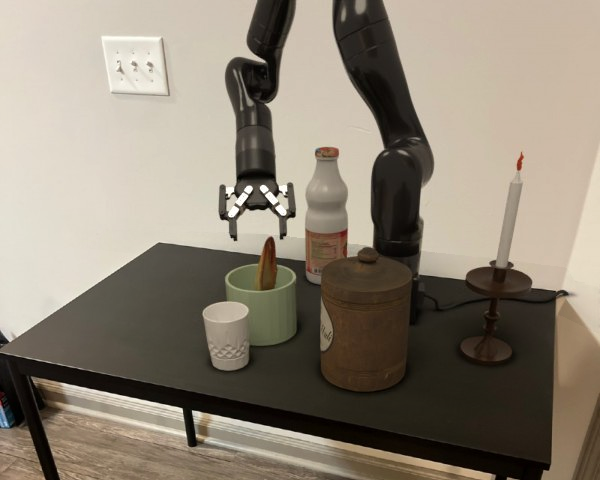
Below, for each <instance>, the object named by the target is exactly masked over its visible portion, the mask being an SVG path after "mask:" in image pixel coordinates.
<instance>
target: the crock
mask: <svg viewBox="0 0 600 480" xmlns="http://www.w3.org/2000/svg"><path fill="white" fill-rule="evenodd" d="M258 264H259V263H252V264H247V265H246V264H245V265H242V266H239V267H236V268H233V269H232V270H230V271H229V272H228V273H227V274H226V275H225V277H224V283H225V291H226V292H225V293H226V302H238V303H241V304H244V305H245V306H247V308H248V309H249V346H253V347H265V346H266V347H267V346H273V345H279V344H282V343H284V342H287V341H288V340H290V339H291V338H292V337H294V336H295V335H296V333H297V331H298V301H297V300H298V299H297V298H298V297H297V296H298V295H297V275H296V272H294V270H293V269H291V268H289V267H287V266H284V265H281V264H276V265H277V269H278V271H277V277H276V284H275V287H274V288H275V289H272V290H266V291H254V284H255V278H256V273H257V268H258Z"/></svg>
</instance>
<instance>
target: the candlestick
mask: <svg viewBox="0 0 600 480" xmlns="http://www.w3.org/2000/svg"><path fill="white" fill-rule="evenodd" d="M524 158H525V156H524V154H523V151H522V150H521V151H520V156H519V158H518V159H517V161H516V173H515V175H514V178H513V179H512V180H510V182H509V187H508V192H507V198H506V204H505V209H504V213H503V214H504V215H503V220H502V225H501V232H500V238H499V243H498V248H497V254H496V259H493V260H490V261H489V263H488V264H489V266H480V267H475V268H472V269H471V270H469V271H467V272H466V274H465V277H464V278H465V280H464V284H465V286H466V288H468V289H469V290H470V291H471V292H474V293H476V294H478V295H480V296H488V297H491V299H490V303H489V308H488V310H486V311H485V312H484V313H483V318H484V320H485V324H483V325H482V330H483V331H484V335H483V336H481V335H479V336H471V337H468V338H465V339H464V340H463V341H461V343H460V347H459V353H460V355H461V357H462V358H464V359H465V360H467V361H468V362H470V363H473V364H477V365H481V366H491V367H493V366H500V365H503V364H506V363H508V362H509V361H510V360H511V358H512V354H513V349H512V347H511V345H509V344H508V343H507V342H505V341H503V340H501V339H499V338H495V337H493V334H494V332H496V331H498V327H497V326H496V323H497V322H498V321H499V320H500V319H501V313H499V312H498V307H499V303H500V299H508V298H516V297H525V296H526V295H527V294H529V293H530V292H531V290H532V288H533V279H532V278H531V276H530V275H528V274H526V273H525V272H523V271H520V270H518V269H514V267H515V264H514V263H513V262H512V261H510V260H509V259H510V254H511V253H510V252H511V248H512V242H513V237H514V232H515V227H516V221H517V217H518V211H519V205H520V200H521V196H522V190H523V184H524V181H523V180H521V170H522V167H523V160H524Z"/></svg>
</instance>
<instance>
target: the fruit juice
mask: <svg viewBox="0 0 600 480" xmlns="http://www.w3.org/2000/svg"><path fill="white" fill-rule="evenodd" d="M339 158H340V150H339V148H337V147H333V146H321V147H317V148H315V150H314V159H315V160H316V162H315V168H314V171H313V174H312V177H311V178H310V180H309V182H308V183H307V185H306V187H305V195H304V196H305V202H306V205H307V209H306V211H305V214H304V215H305V217H304V235H305V236H304V240H305V241H304V242H305V244H304V249H305V250H304V251H305V276H306V280H307V281H309V282H310V283H312V284H314V285H320V286H321V272H322V269H323V268H324V267H325V266H326V265H327V264H328V263H330V262H332V261H335V260H338V259H341V258H346V257H348V244H349V243H348V241H349V240H348V239H349V238H348V237H349V215H348V211H347V207H346V205H347V202H348V199H349V189H348V185H347V184H346V182H345V181H344V180H343V178H342V176H341V173H340V169H339V165H338V163H339V162H338V159H339Z"/></svg>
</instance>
